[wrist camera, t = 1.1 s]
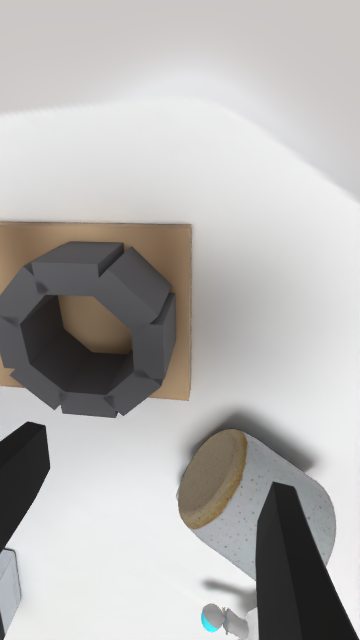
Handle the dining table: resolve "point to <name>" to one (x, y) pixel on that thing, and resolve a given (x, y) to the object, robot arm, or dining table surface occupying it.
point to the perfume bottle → (231, 622)
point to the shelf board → (87, 312)
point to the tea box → (8, 590)
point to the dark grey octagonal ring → (71, 355)
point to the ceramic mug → (245, 496)
